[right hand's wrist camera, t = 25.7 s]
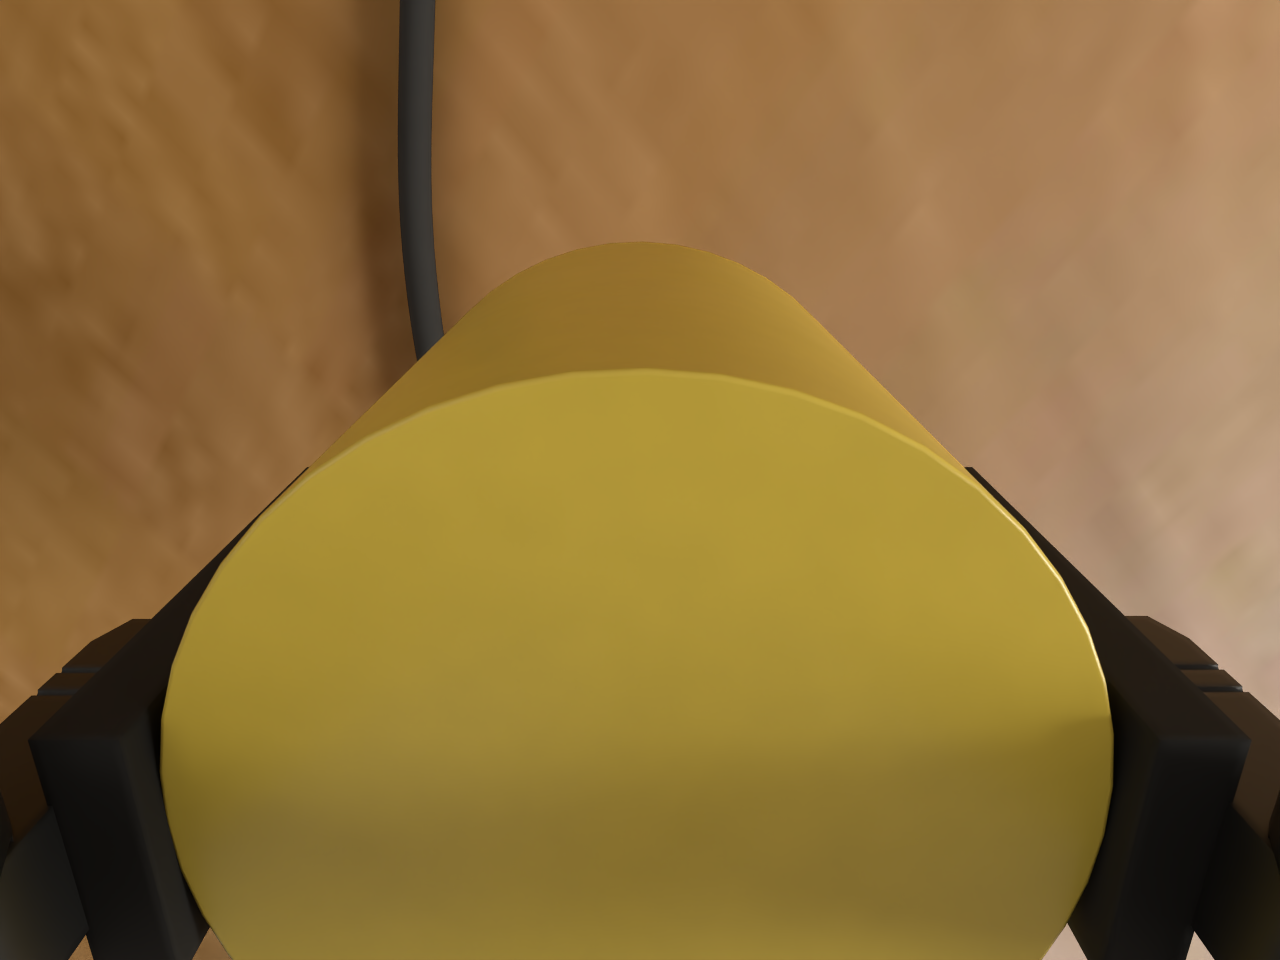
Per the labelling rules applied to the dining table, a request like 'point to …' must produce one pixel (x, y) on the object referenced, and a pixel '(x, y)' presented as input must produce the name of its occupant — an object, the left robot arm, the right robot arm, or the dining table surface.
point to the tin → (636, 659)
